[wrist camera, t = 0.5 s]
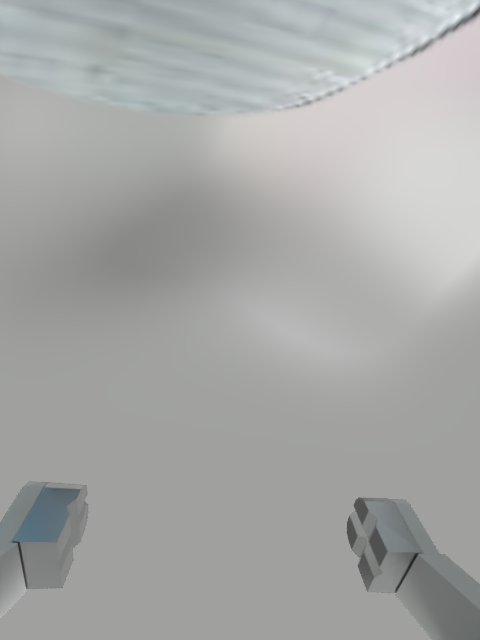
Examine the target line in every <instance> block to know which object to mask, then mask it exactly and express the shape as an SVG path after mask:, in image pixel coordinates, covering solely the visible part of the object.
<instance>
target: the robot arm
mask: <svg viewBox="0 0 480 640" xmlns="http://www.w3.org/2000/svg"><path fill="white" fill-rule="evenodd" d="M86 496H87V486H86V485H76V484H63V483H50V482H32V481H29V482H28V483H27V484H26V485H25V486H24V487H23V488H22V489H21V491H20V493H19V494H18V495H17V497H16V499H15V500H14V502H13V503H12V505H11V506H10V508H9V510H8V511H7V512H6V514H5V516H4V517H3V519H2V520H1V522H0V619H1V618H2V617H3V615H4V614H5V613H6V612H7V611H8V610H9V609H10V608H11V607H12V606H13V605H14V604H15V603H16V602H17V601H18V600H19V599H20V597H22V595H23V594H24V593H25V592H26V589H35V588H36V589H38V588H39V589H40V588H63V585H64V582H65V580H66V577H67V575H68V572H69V570H70V567H71V565H72V562H73V548H74V547H75V546H76V545H78V543H80V541H81V539H82V536H83V533H84V530H85V526H86V522H87V518H88V504H87V503H86V502H85V498H86ZM354 508H355V510H356V511H355V512H353V513H352V514H351V515H350V516H349V518H348V521H347V535H348V539H349V543H350V546H351V549H352V550H353V551H354V553H355V554H357V556H358V557H359V563H358V568H359V571H360V574H361V576H362V579H363V582H364V584H365V587H366V589H367V592H382V593H396V594H395V595H396V597H397V598H398V599H399V600H400V602H401V603H402V604H403V605H404V606H405V608H406V609H407V610H408V611H409V612H410V614H411V615H412V616H413V617H414V619H415V620H416V621H417V622H418V623H419V625H420V626H421V627H422V628H423V630H424V631H425V632H426V633H427V634H428V636H429V637H430V638H431V639H432V640H480V584H479V583H478V582H477V581H476V580H474V579H473V578H472V577H471V576H470V575H468V574H467V573H466V572H465V571H464V570H463V569H461V568H460V567H459V566H458V565H457V564H455V563H454V562H453V561H452V560H451V559H450V558H448V557H447V556H446V555H445V554H440V553H439V552H438V550H437V548H436V546H435V545H434V543H433V542H432V540H431V538H430V536H429V535H428V533H427V532H426V530H425V528H424V527H423V525H422V523H421V522H420V520H419V518H418V517H417V515H416V514H415V512H414V510H413V508H412V507H411V505H410V504H409V503H408V502H407V501H406V500H403V499H387V498H358V499H356V501H355V503H354Z"/></svg>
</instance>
